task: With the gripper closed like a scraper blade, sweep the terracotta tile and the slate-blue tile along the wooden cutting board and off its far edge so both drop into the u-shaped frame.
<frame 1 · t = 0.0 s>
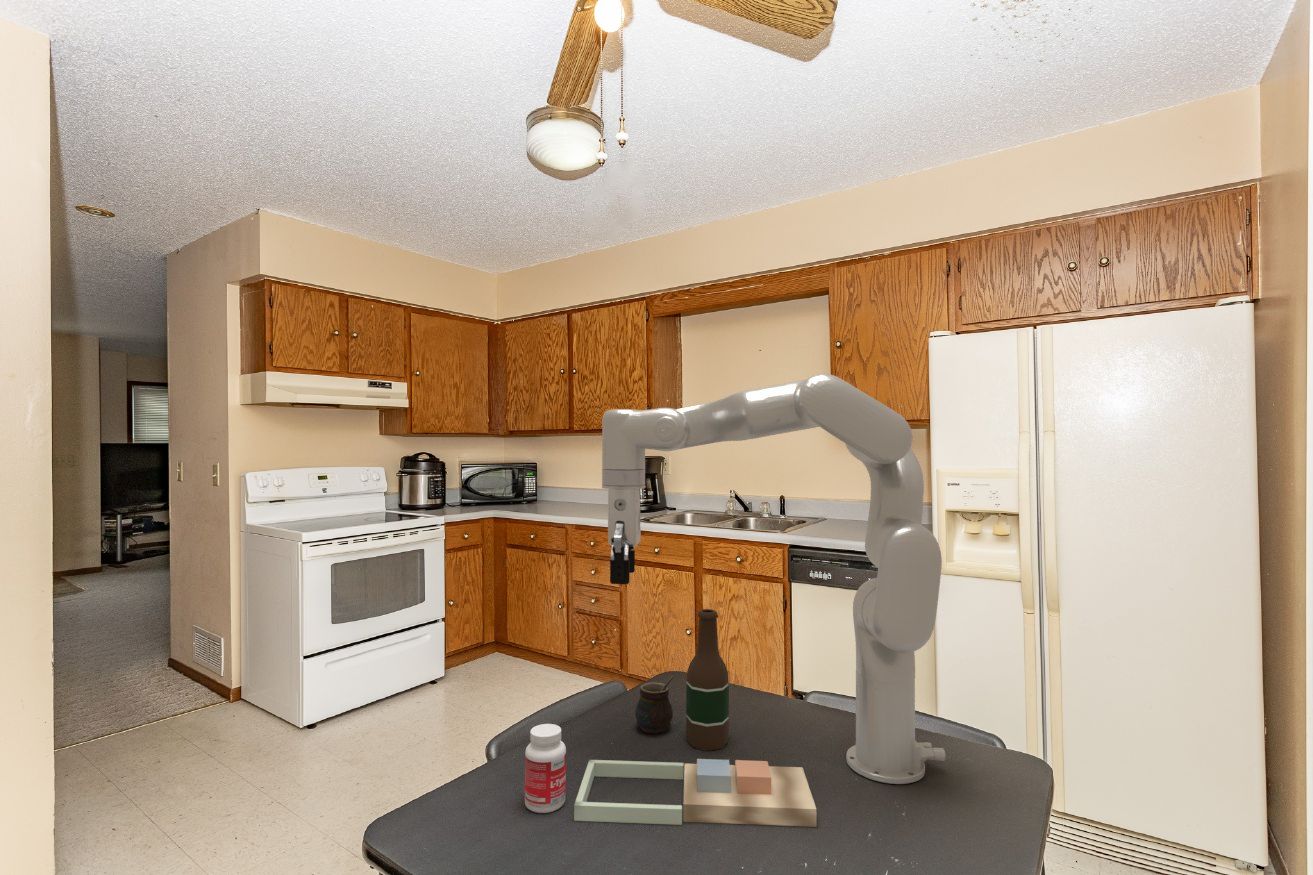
hand: (622, 577, 113), 31 cm above the table, fingers open, 9 cm apart
pill bottle: (545, 804, 98), on the table
terracotta tile: (752, 784, 99), point 2 cm above the table, touching wooden cutting board
slate tile: (713, 783, 99), point 2 cm above the table, touching wooden cutting board
wooden cutting board: (746, 801, 99), on the table
u-shaped frame: (632, 797, 100), on the table
mate gourd: (654, 729, 124), on the table
beer bottle: (707, 742, 118), on the table
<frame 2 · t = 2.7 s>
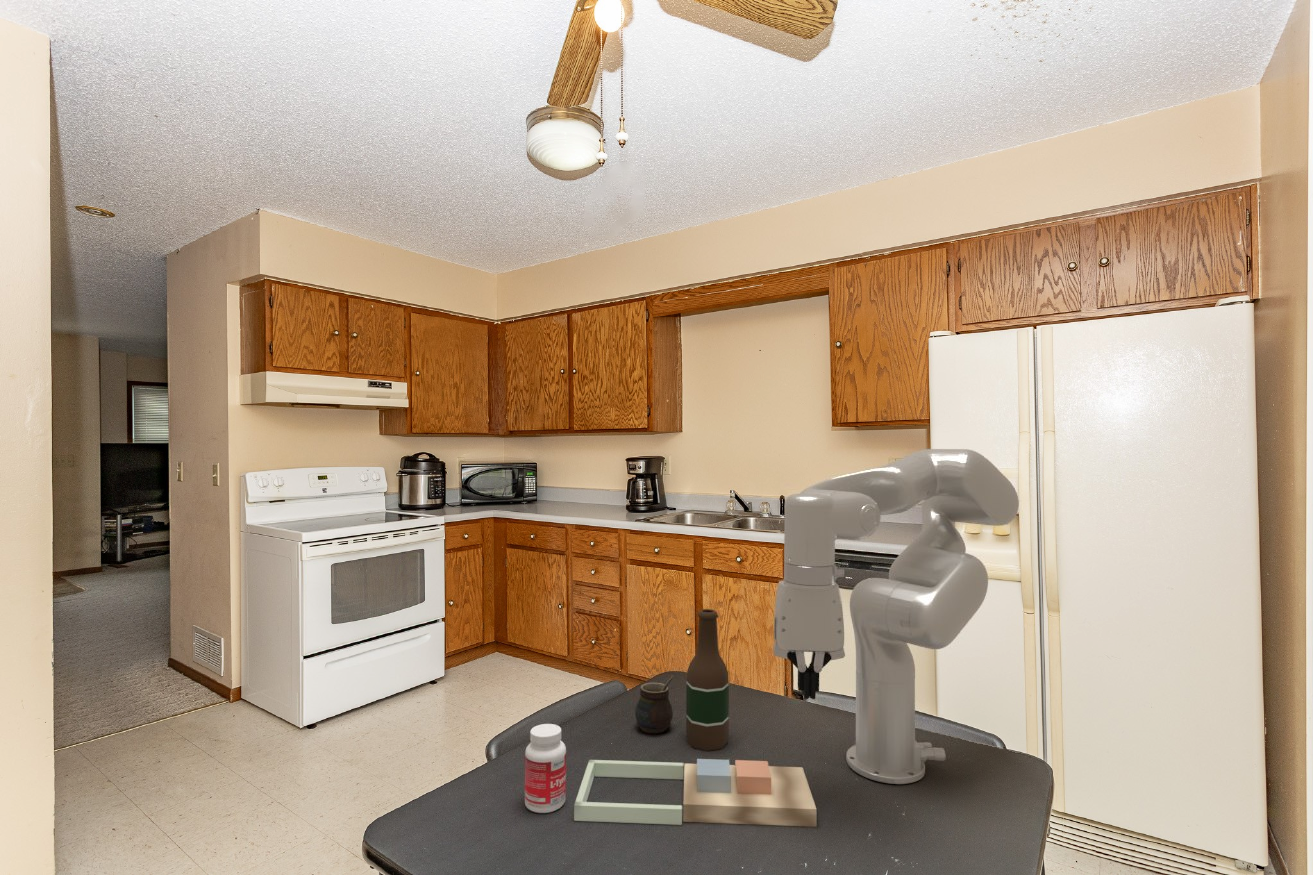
hand: (808, 695, 98), 16 cm above the table, fingers closed
nothing on the table moved.
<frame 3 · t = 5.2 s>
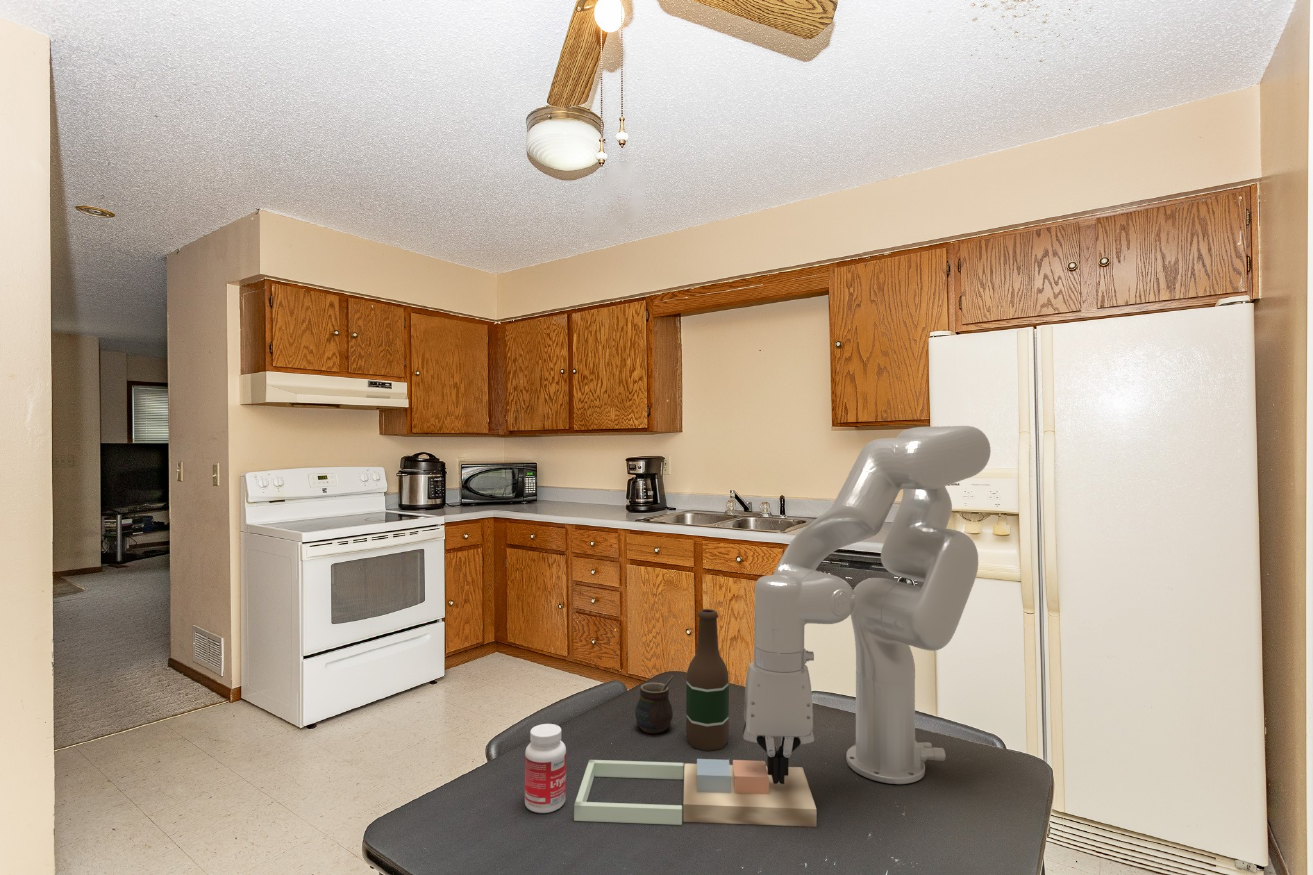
hand: (777, 779, 98), 4 cm above the table, fingers closed
terracotta tile: (750, 784, 99), point 3 cm above the table, touching gripper
everything else where it was.
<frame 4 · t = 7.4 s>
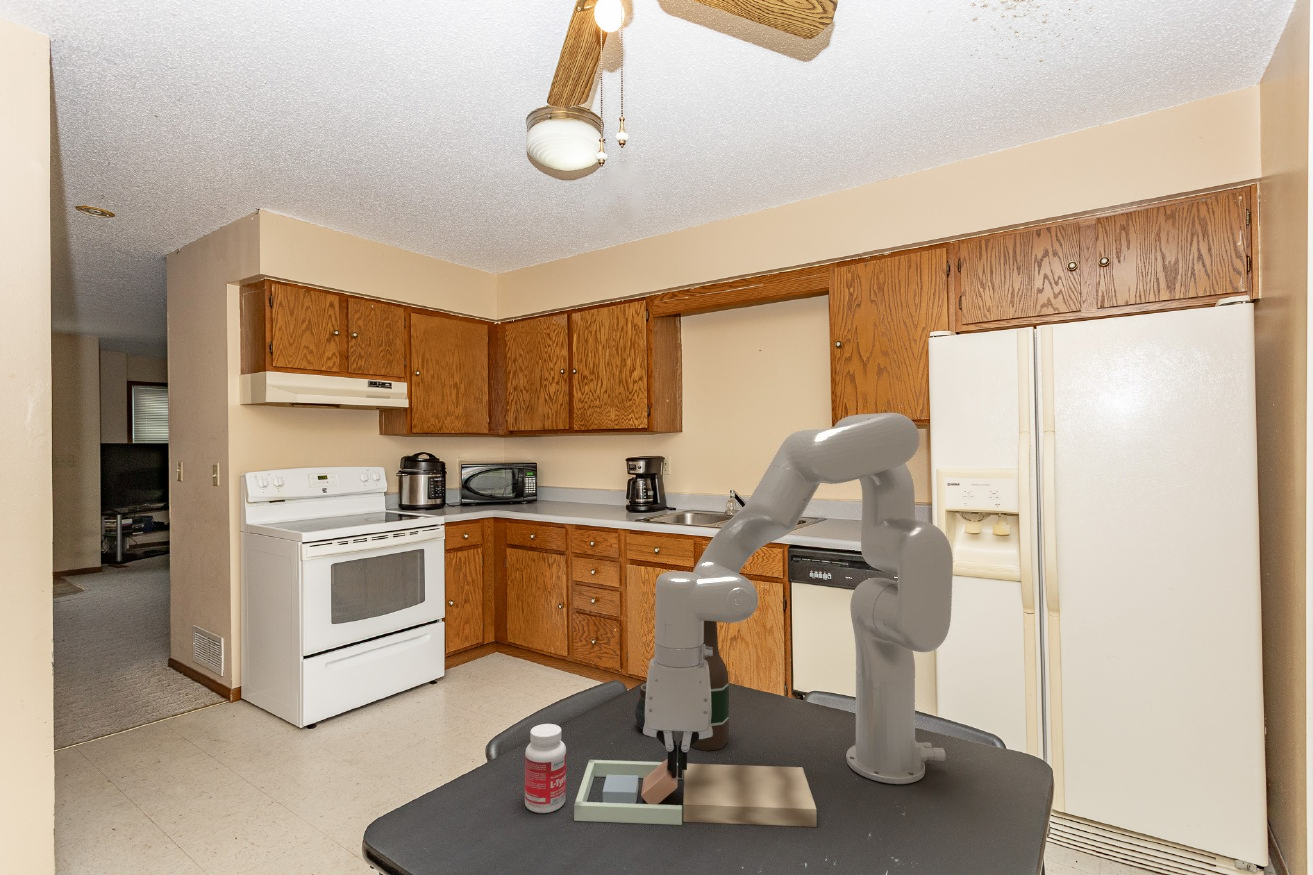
hand: (677, 773, 99), 4 cm above the table, fingers closed
terracotta tile: (665, 789, 99), point 2 cm above the table, tilted 41°, touching gripper
slate tile: (620, 783, 99), point 2 cm above the table, tilted 180°
everything else where it was.
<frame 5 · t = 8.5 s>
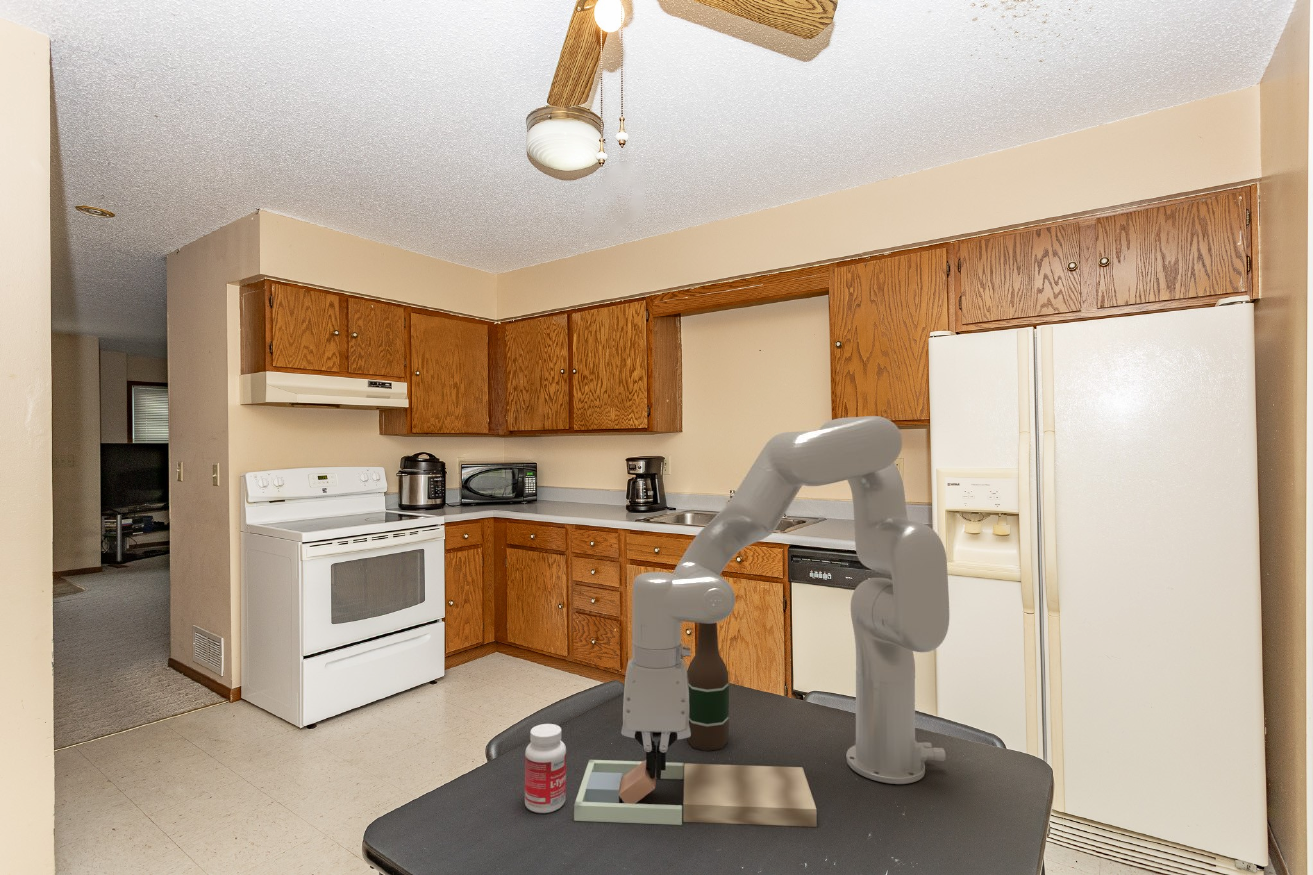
hand: (655, 773, 99), 4 cm above the table, fingers closed
terracotta tile: (643, 789, 99), point 1 cm above the table, tilted 38°, touching gripper, slate tile
slate tile: (604, 780, 100), point 2 cm above the table, tilted 180°, touching terracotta tile, u-shaped frame
everything else where it was.
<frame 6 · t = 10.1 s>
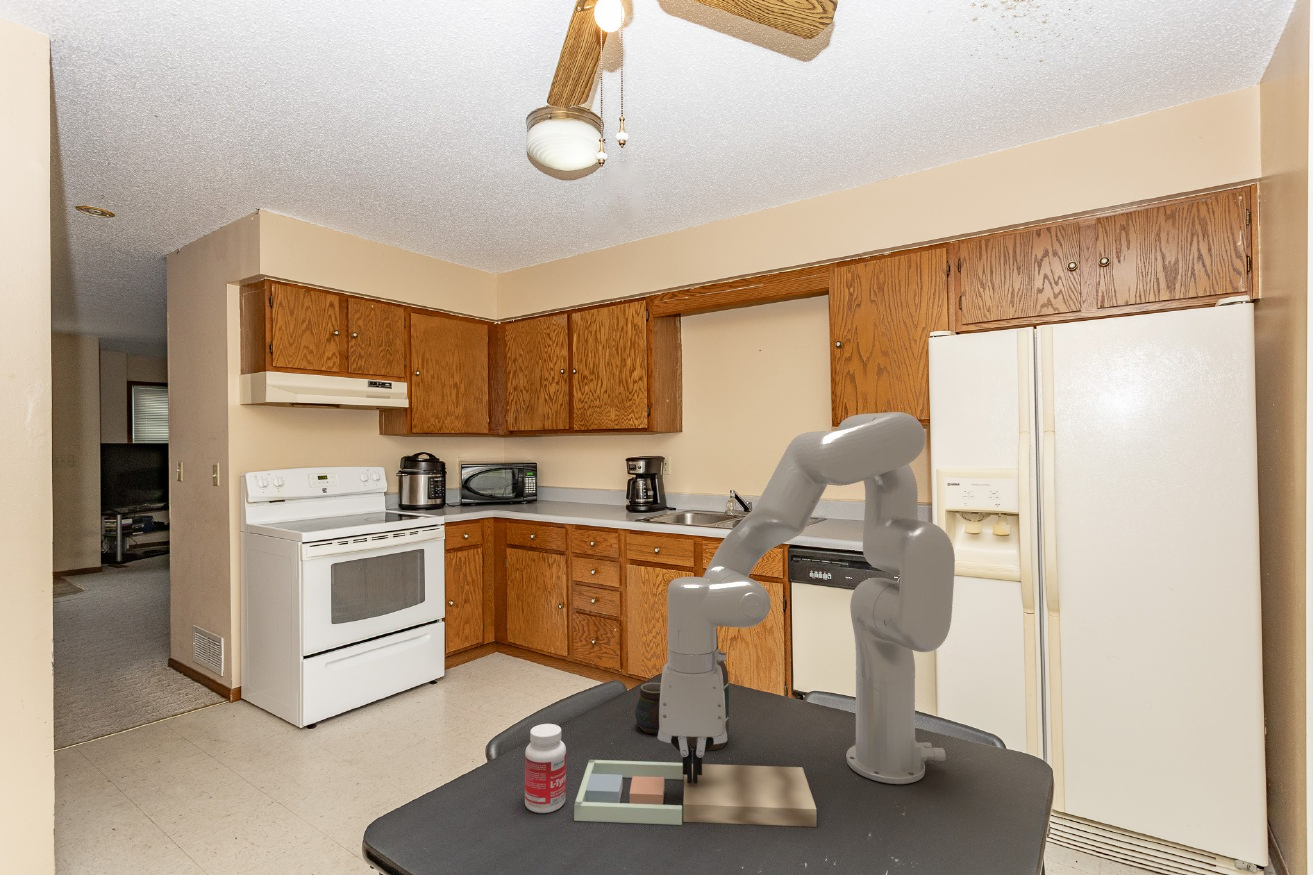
hand: (692, 778, 99), 3 cm above the table, fingers closed
terracotta tile: (647, 801, 99), on the table
slate tile: (604, 782, 100), point 2 cm above the table, tilted 180°
everything else where it was.
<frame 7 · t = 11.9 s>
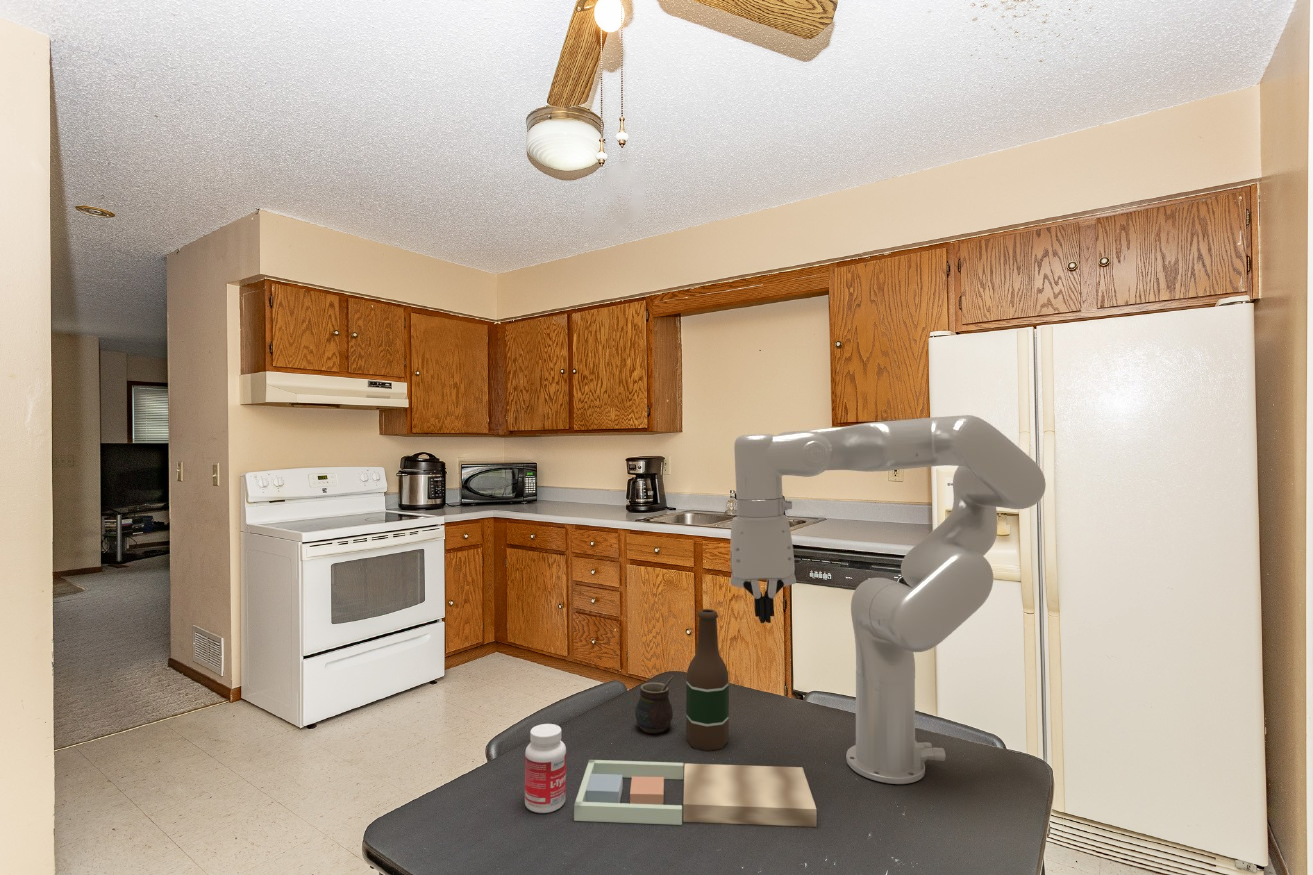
hand: (764, 620, 106), 26 cm above the table, fingers closed
nothing on the table moved.
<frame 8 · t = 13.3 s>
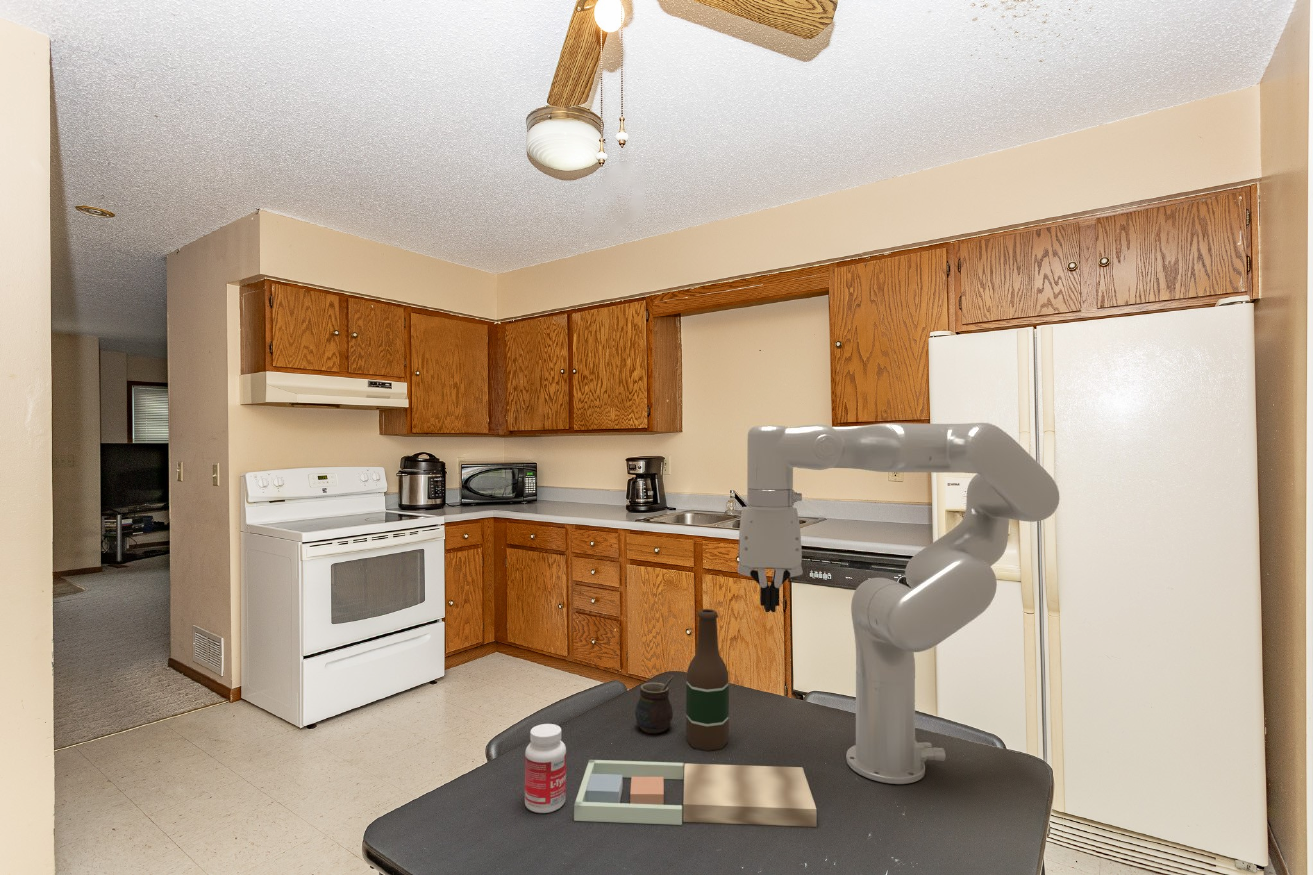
hand: (769, 609, 107), 27 cm above the table, fingers closed
nothing on the table moved.
at the end: terracotta tile inside the target area on the u-shaped frame (2.0 cm from its centre), point 0.0 cm above the u-shaped frame's base; slate tile inside the target area on the u-shaped frame (4.8 cm from its centre), point 2.2 cm above the u-shaped frame's base; terracotta tile touching table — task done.
